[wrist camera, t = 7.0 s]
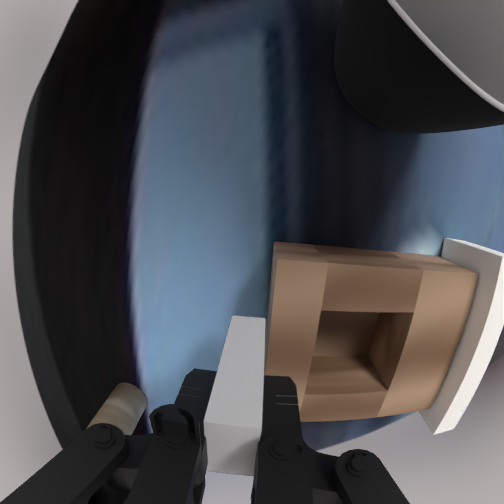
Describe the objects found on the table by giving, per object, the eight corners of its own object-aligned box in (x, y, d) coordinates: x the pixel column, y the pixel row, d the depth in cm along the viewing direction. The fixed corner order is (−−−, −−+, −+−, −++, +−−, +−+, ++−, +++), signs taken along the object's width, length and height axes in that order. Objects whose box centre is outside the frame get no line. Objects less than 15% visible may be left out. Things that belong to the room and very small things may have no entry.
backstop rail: (444, 237, 16) (502, 256, 10) (463, 240, 16) (520, 259, 10) (403, 386, 18) (433, 434, 12) (422, 383, 18) (454, 428, 12)
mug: (429, 170, 15) (551, 165, 5) (300, 118, 15) (347, 23, 5) (442, 38, 12) (515, -16, 2) (336, -11, 12) (369, -103, 2)
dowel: (112, 378, 19) (25, 502, 5) (144, 387, 19) (67, 528, 5) (119, 404, 20) (47, 522, 6) (149, 412, 20) (87, 543, 6)
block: (273, 241, 16) (277, 259, 12) (438, 256, 16) (478, 273, 11) (260, 375, 18) (259, 420, 14) (405, 373, 18) (429, 408, 13)
